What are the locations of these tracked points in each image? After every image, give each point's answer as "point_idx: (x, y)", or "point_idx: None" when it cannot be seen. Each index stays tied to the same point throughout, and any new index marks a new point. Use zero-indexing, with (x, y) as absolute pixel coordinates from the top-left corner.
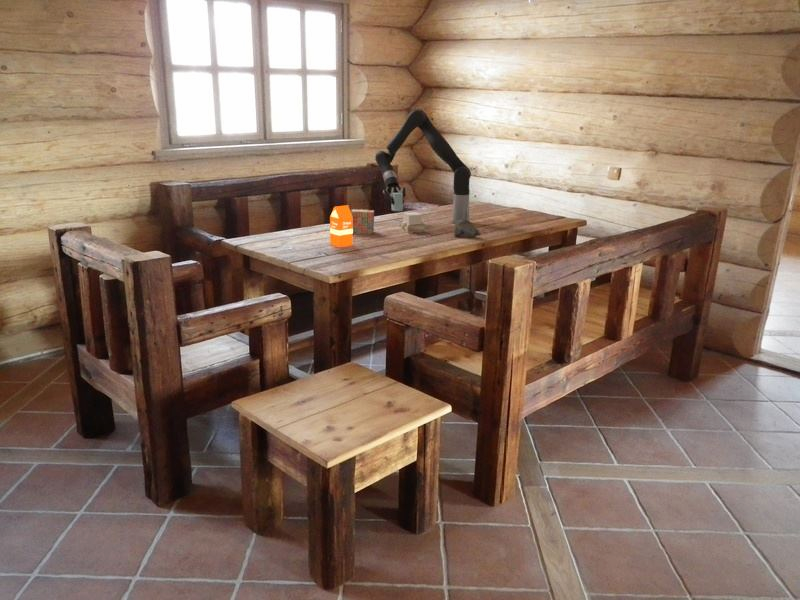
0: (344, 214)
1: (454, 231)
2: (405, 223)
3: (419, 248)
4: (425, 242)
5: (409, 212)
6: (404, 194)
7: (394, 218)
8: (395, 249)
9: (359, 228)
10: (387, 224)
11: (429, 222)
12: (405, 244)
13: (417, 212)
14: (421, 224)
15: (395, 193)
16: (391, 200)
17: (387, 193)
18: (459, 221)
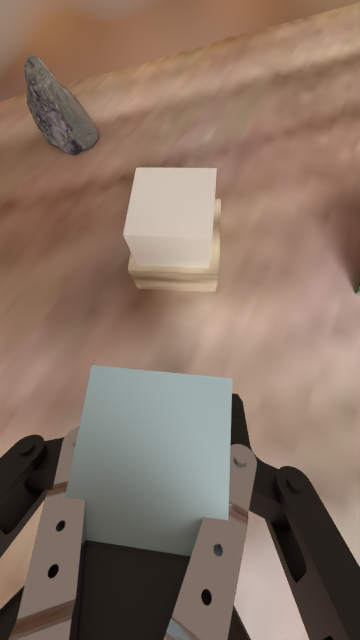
0: None
1: (91, 121)
2: (219, 226)
3: (273, 67)
4: (224, 110)
5: (172, 235)
6: (22, 452)
7: None
8: (347, 71)
9: None
10: None
11: (6, 384)
12: (296, 104)
13: (126, 221)
14: None
15: (194, 426)
16: (244, 418)
17: (320, 548)
18: (53, 78)
